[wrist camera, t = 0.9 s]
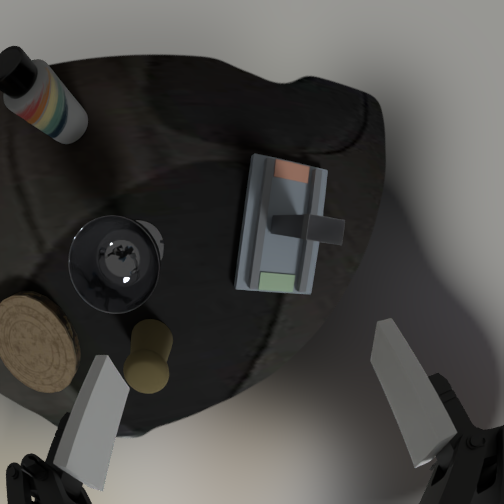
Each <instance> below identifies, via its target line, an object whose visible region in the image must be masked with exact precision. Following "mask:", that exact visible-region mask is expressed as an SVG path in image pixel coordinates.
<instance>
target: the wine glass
mask: <svg viewBox="0 0 504 504" xmlns="http://www.w3.org/2000/svg"><path fill="white" fill-rule="evenodd" d="M163 254H164V241H163V238H162V235H161V234H160V232H159V230H158V229H157V228H156V227H155V226H154V225H152V224H151V223H149V222H146V221H142V220H133V219H130V218H128V217H124V216H117V215H113V216H104V217H100V218H96V219H94V220H92V221H90V222H89V223H87V224H86V225H85V226H83V228H82V229H81V230H80V231H79V232H78V233H77V235H76V236H75V238H74V240H73V242H72V244H71V247H70V251H69V257H68V268H69V274H70V278H71V281H72V283H73V286H74V288H75V289H76V291H77V293H78V294H79V295H80V296H81V298H82V299H83V300H84V301H85V302H87V303H88V304H89V305H90V306H92V307H94V308H95V309H97V310H100V311H102V312H106V313H111V314H121V313H126V312H129V311H132V310H134V309H136V308H138V307H139V306H141V305H142V304H143V303H144V302H145V301H146V300H147V299H148V298H149V297H150V295H151V294H152V292H153V290H154V288H155V286H156V284H157V281H158V278H159V275H160V266H161V260H162V257H163Z"/></svg>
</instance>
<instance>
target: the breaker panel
mask: <svg viewBox="0 0 504 504" xmlns="http://www.w3.org/2000/svg"><path fill="white" fill-rule="evenodd" d="M327 172H328V170H324V169H320V168H317V167H313V166H309V165H304V164H300V163H296V162H292V161H288V160H283V159H279V158H274V157H269V156H264V155H259V154H253V155H252V156H251V163H250V170H249V177H248V184H247V192H246V199H245V206H244V213H243V221H242V228H241V236H240V243H239V251H238V258H237V266H236V274H235V282H234V287H235V289H239V290H252V291H266V292H281V293H297V294H311V290H312V285H313V279H314V272H315V266H316V260H317V253H318V246H319V242H317V241H310V240H303V239H301V238H295V237H289V236H283V235H276V234H270V232H271V224H272V217H273V215H303V214H314V215H319V216H323V209H324V200H325V191H326V182H327Z"/></svg>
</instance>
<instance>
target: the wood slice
mask: <svg viewBox="0 0 504 504" xmlns="http://www.w3.org/2000/svg"><path fill="white" fill-rule="evenodd" d="M80 353H81V351H80V346H79V341H78V336H77V334H76V332H75V330H74V328H73V326H72V324H71V322H70V320H69V319H68V317H67V316H66V315H65V314H64V312H63V311H62V310H61V308H60V307H59V306H57V305H56V304H55V303H54V302H52V301H51V300H50V299H49V298H48V297H46V296H43V295H41V294H39V293H36V292H34V291H21V292H19V293H16V294H14V295H12V296H10V297H8V298H6V299H4V300H3V301H2V302H1V303H0V357H1V359H2V360H3V362H4V364H5V365H6V367H7V368H8V369H9V370H10V372H11V373H12V374H13V375H14V376H15V377H16V378H17V379H18V380H20V381H21V382H22V383H23V384H25V385H26V386H28V387H30V388H32V389H34V390H37V391H40V392H46V393H53V392H58V391H61V390H63V389H64V388H65V387H67V386H68V385H69V384H70V382H71V381H72V379H73V377H74V375H75V373H76V371H77V369H78V367H79V365H80Z"/></svg>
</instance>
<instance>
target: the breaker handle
mask: <svg viewBox="0 0 504 504" xmlns="http://www.w3.org/2000/svg"><path fill="white" fill-rule="evenodd" d="M344 225H345V220H340V219H335V218H330V217H324V216H319V215H314V214H303V215H273V217H272V224H271V232H270V234H276V235H283V236H289V237H295V238H301V239H303V240H310V241H317V242H324V243H331V244H338V245H342V240H343V232H344Z"/></svg>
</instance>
